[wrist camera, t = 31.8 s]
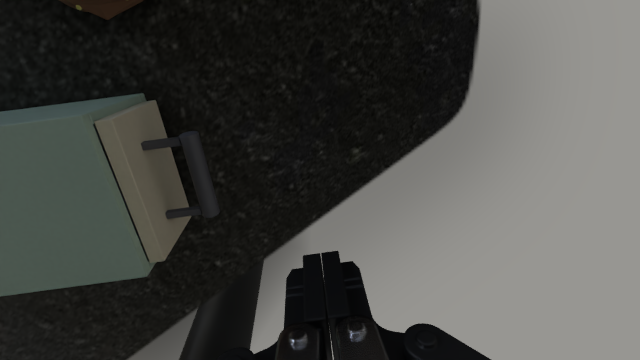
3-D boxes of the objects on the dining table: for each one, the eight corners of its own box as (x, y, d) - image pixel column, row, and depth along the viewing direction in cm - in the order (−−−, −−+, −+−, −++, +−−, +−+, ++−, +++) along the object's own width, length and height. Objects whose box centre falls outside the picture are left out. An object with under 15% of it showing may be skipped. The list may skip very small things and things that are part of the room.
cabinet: (144, 92, 29) (81, 115, 20) (184, 218, 34) (147, 276, 26) (-23, 114, 29) (-155, 146, 20) (42, 236, 34) (-42, 302, 25)
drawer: (205, 93, 28) (177, 110, 22) (235, 209, 33) (218, 254, 26) (-2, 120, 28) (-96, 146, 21) (56, 233, 33) (-7, 284, 26)
